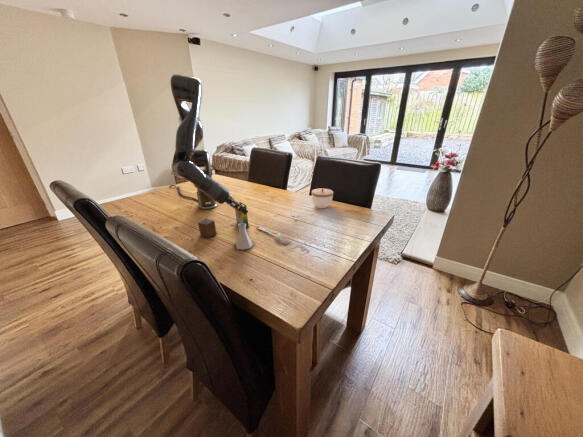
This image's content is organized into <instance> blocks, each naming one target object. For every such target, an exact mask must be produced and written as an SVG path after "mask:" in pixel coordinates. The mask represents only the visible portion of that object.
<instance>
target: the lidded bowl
mask: <svg viewBox="0 0 583 437" xmlns="http://www.w3.org/2000/svg"><path fill="white" fill-rule="evenodd" d="M333 198H334V191H333V190H332V189H330V188H323V187H322V188H319V187H318V188H315V189H312V190H311V202H312V204H313V205H314V206H315V207H316V208H317V209H327V208H328V207H329V206H330V205H331V203H332V201H333Z"/></svg>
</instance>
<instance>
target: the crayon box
mask: <svg viewBox="0 0 583 437" xmlns="http://www.w3.org/2000/svg"><path fill="white" fill-rule="evenodd" d="M238 203H239V204H240V205H241V206H243V208H245V209H246V210H248V207H247V204H245V203H243V202H241V201H238ZM239 207H240V206H239ZM239 207H238V209H239ZM234 211H235V219H236V224H237V226H238V225H239V224H241V223H245V224H246V226H245V227H246V229H247V228H249V218H248V213H247V214H246V215H245V214H244V213H242V212H239V211H238V210H237V209H234Z"/></svg>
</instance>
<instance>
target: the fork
mask: <svg viewBox="0 0 583 437" xmlns="http://www.w3.org/2000/svg"><path fill="white" fill-rule="evenodd" d="M257 229H258V230H259V231H263V232H265V233H267V234H269V235H271V236H274V237H277V238H278V239H280V240H281V242H283V243H284V244H285V245H288V244H290V242H289V241H288V240H287V238H286V237H285V236H284V235H283V234H282V233H278V234H275V233H272V232H271V231H269V230H268V229H266V228H265V227H263V226H259V227H258V228H257Z"/></svg>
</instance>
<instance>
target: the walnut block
mask: <svg viewBox="0 0 583 437" xmlns="http://www.w3.org/2000/svg"><path fill="white" fill-rule="evenodd" d="M197 224H198V229H199V234H200V237H203V238H206V239H210V238H212V237H213V236H216V235H217V229H216V223H215V220H214V219H210V218H204V219H202V220H200V221H198V222H197Z"/></svg>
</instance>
